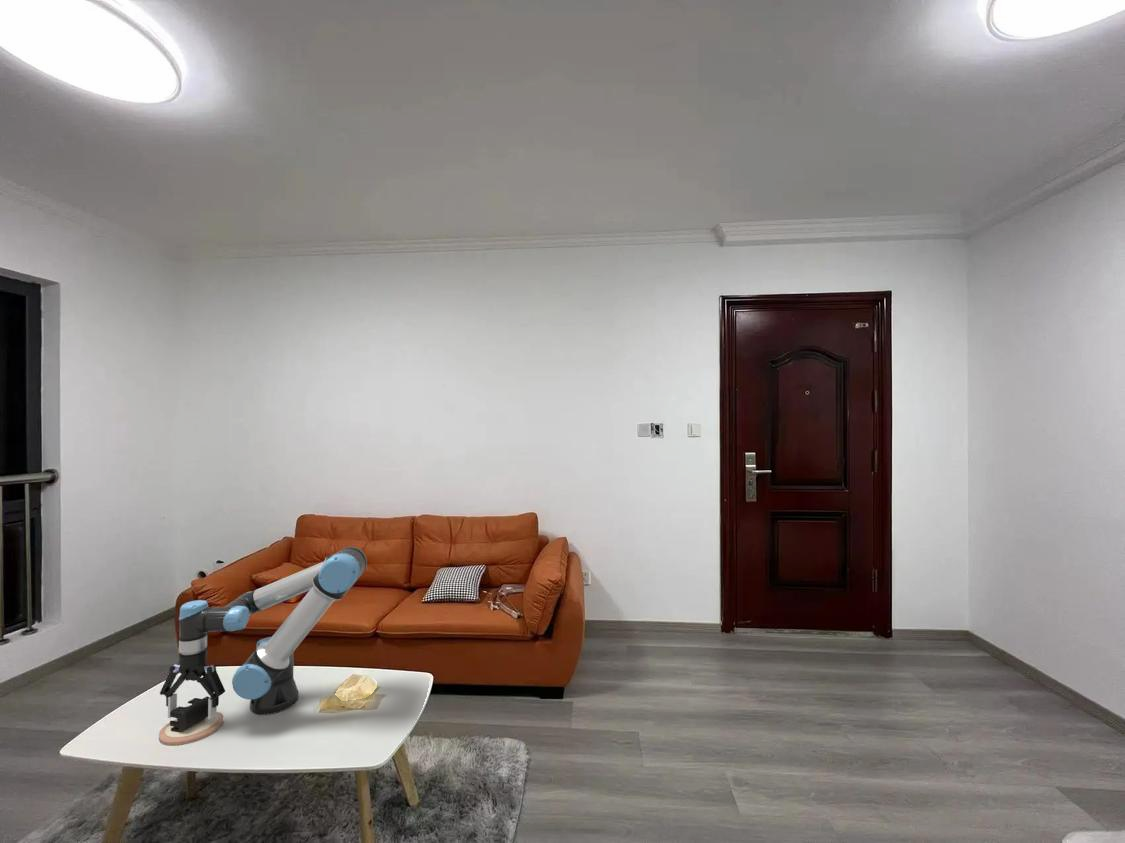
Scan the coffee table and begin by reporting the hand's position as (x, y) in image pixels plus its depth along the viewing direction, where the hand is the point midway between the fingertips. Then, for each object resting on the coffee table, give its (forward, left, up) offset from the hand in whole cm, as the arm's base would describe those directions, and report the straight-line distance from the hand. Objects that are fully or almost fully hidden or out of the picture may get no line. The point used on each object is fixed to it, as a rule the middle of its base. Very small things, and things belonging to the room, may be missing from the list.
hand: (192, 716), depth 167 cm
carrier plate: (0, 0, -4) cm, 4 cm away
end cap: (0, 0, -3) cm, 3 cm away
